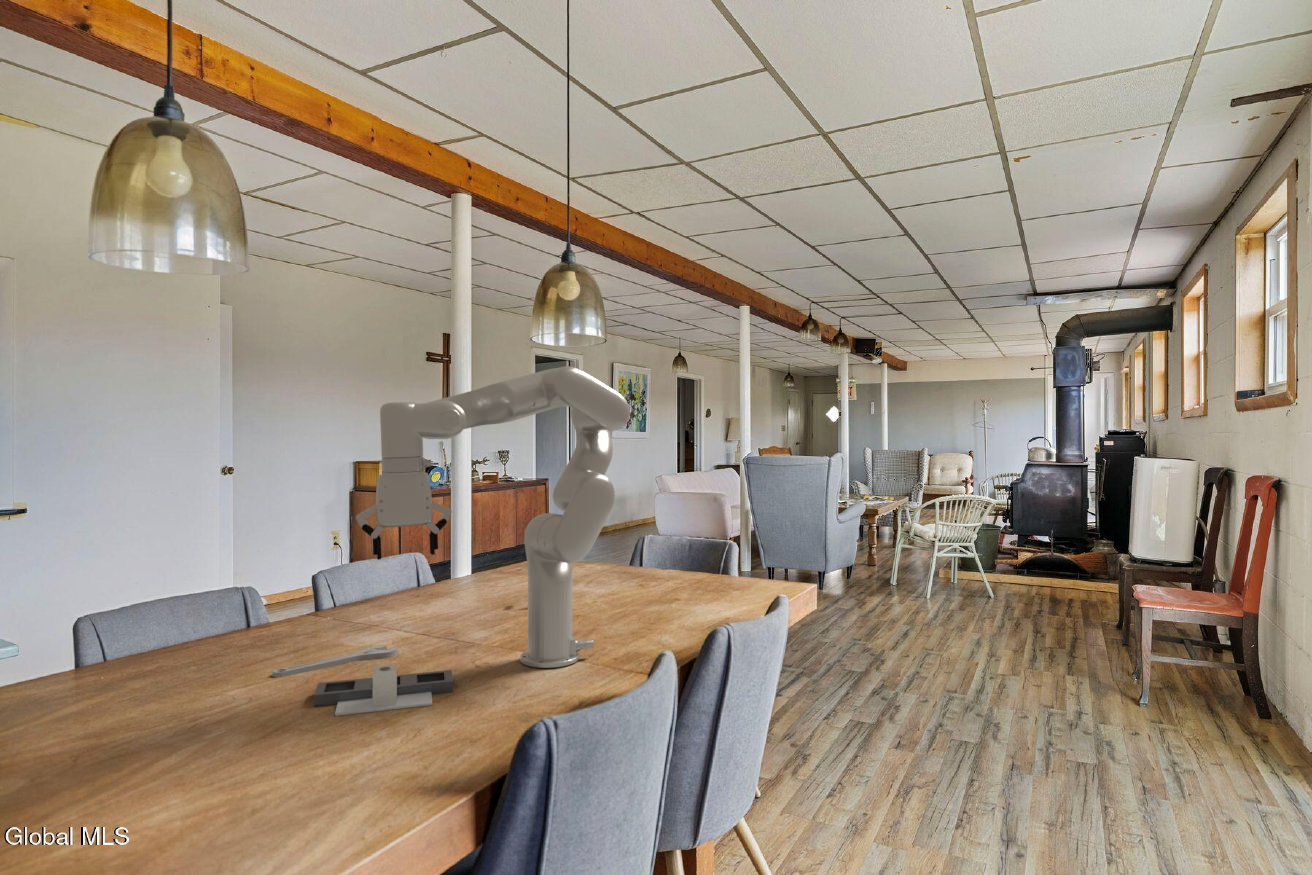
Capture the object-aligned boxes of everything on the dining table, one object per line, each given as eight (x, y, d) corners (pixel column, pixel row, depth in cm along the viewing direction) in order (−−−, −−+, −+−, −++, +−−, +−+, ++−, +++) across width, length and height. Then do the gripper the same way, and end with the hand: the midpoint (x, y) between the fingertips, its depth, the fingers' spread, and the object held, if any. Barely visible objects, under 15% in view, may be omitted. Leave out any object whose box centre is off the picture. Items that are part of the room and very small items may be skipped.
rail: (451, 679, 143) (451, 669, 143) (453, 691, 136) (453, 680, 136) (318, 693, 135) (318, 682, 135) (313, 706, 128) (313, 695, 128)
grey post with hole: (396, 697, 132) (397, 663, 132) (396, 704, 128) (396, 670, 128) (373, 699, 131) (373, 665, 131) (372, 707, 127) (372, 672, 127)
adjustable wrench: (274, 681, 144) (274, 672, 144) (267, 673, 149) (267, 664, 149) (400, 656, 160) (400, 648, 160) (389, 650, 164) (389, 642, 164)
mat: (431, 693, 135) (431, 691, 135) (432, 704, 129) (432, 702, 129) (338, 703, 130) (338, 701, 130) (334, 715, 124) (334, 713, 124)
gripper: (448, 464, 145) (451, 549, 145) (354, 468, 138) (358, 557, 139) (451, 465, 138) (454, 554, 138) (353, 470, 131) (356, 563, 132)
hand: (406, 555), depth 138 cm, fingers open, 9 cm apart
